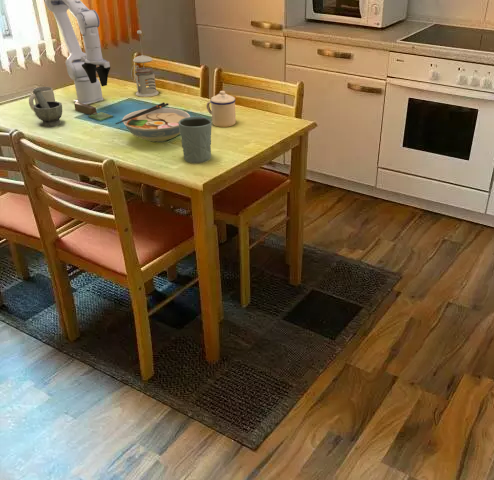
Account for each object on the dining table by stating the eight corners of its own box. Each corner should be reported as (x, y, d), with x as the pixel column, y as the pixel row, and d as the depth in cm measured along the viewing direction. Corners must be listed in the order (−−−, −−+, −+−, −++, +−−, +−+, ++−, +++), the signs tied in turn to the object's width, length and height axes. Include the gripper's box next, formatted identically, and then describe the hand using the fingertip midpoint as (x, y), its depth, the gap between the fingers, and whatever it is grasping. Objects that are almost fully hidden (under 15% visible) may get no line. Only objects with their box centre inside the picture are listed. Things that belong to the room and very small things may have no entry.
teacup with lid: (241, 121, 217) (240, 90, 210) (226, 128, 210) (225, 96, 204) (215, 116, 222) (213, 85, 215) (200, 123, 215) (198, 91, 209)
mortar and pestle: (70, 123, 214) (64, 90, 208) (48, 130, 208) (40, 96, 201) (52, 117, 220) (45, 84, 213) (30, 123, 214) (22, 90, 207)
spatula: (70, 111, 226) (69, 104, 224) (83, 107, 230) (82, 100, 228) (100, 121, 217) (98, 113, 215) (113, 117, 220) (111, 109, 219)
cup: (61, 112, 225) (56, 88, 220) (37, 118, 218) (31, 94, 213) (51, 108, 229) (46, 85, 224) (27, 114, 222) (21, 90, 217)
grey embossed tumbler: (176, 161, 185) (172, 124, 178) (191, 150, 193) (188, 114, 186) (204, 166, 182) (201, 128, 175) (219, 154, 190) (217, 118, 183)
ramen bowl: (158, 157, 188) (155, 132, 183) (108, 143, 198) (104, 119, 193) (207, 134, 205) (205, 111, 201) (158, 122, 215) (156, 100, 211)
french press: (163, 92, 248) (156, 29, 234) (144, 99, 240) (136, 34, 226) (146, 88, 252) (139, 27, 238) (127, 95, 244) (117, 31, 230)
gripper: (71, 45, 215) (78, 83, 223) (95, 51, 208) (102, 89, 216) (87, 42, 220) (93, 79, 228) (111, 48, 213) (117, 85, 220)
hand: (99, 84), depth 222 cm, fingers open, 6 cm apart
